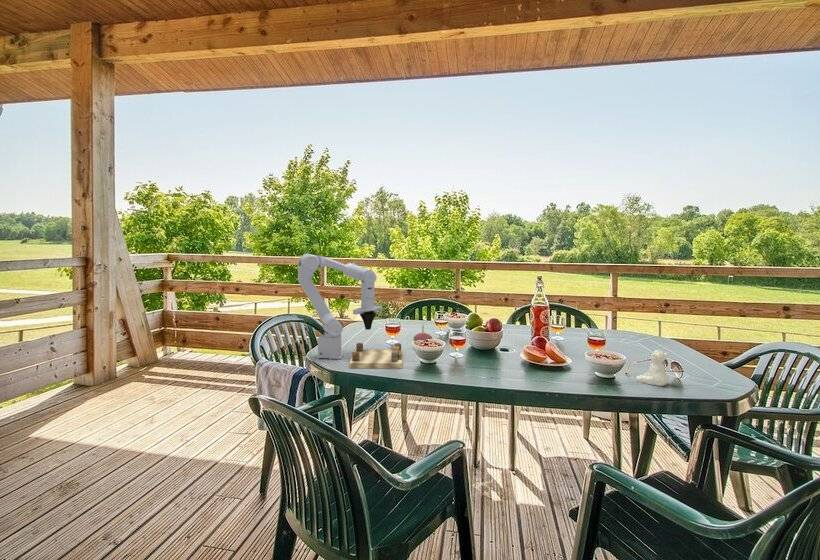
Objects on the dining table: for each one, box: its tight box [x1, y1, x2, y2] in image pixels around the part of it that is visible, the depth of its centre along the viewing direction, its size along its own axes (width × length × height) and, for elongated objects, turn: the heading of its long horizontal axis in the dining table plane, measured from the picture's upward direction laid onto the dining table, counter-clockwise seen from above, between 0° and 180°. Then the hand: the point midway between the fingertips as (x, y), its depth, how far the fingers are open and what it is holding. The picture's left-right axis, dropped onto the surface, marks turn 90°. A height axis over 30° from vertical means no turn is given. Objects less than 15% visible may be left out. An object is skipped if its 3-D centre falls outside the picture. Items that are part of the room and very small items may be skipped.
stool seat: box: [348, 342, 404, 370], centre depth 173 cm, size 20×20×5 cm
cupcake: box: [412, 324, 433, 342], centre depth 193 cm, size 9×8×12 cm
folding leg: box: [391, 345, 399, 361], centre depth 171 cm, size 12×2×3 cm, turn 178°
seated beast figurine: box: [635, 349, 669, 387], centre depth 149 cm, size 10×9×12 cm
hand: (368, 329), depth 184 cm, fingers closed
